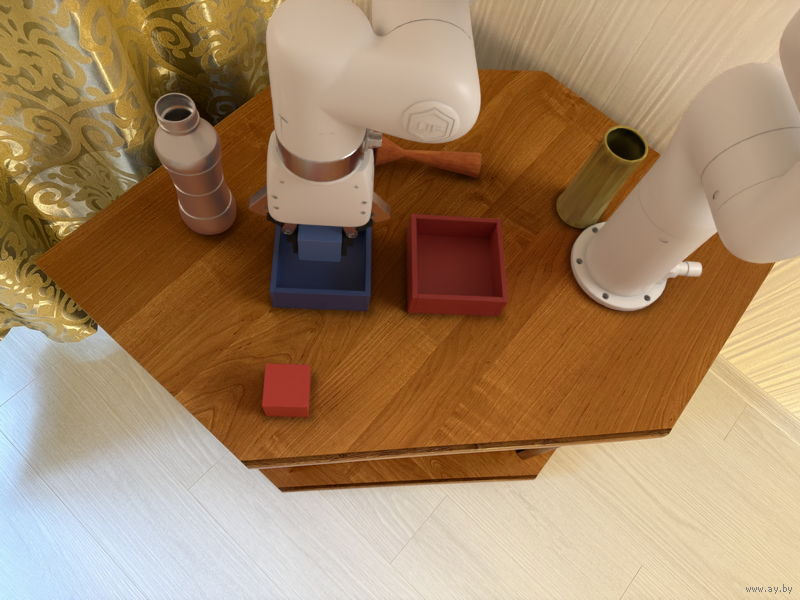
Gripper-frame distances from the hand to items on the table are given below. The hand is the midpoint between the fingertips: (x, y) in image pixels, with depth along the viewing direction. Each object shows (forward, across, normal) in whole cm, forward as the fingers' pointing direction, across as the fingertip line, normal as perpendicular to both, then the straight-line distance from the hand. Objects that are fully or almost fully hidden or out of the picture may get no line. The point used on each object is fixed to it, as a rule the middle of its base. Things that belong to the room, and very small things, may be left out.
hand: (320, 242), depth 67 cm
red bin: (+6, -16, 0) cm, 17 cm away
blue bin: (+6, 0, 0) cm, 6 cm away
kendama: (+6, -10, -16) cm, 20 cm away
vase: (+6, -34, -10) cm, 36 cm away
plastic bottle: (+7, +14, -6) cm, 16 cm away
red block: (+6, +3, +16) cm, 18 cm away
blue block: (0, 0, 0) cm, 0 cm away
